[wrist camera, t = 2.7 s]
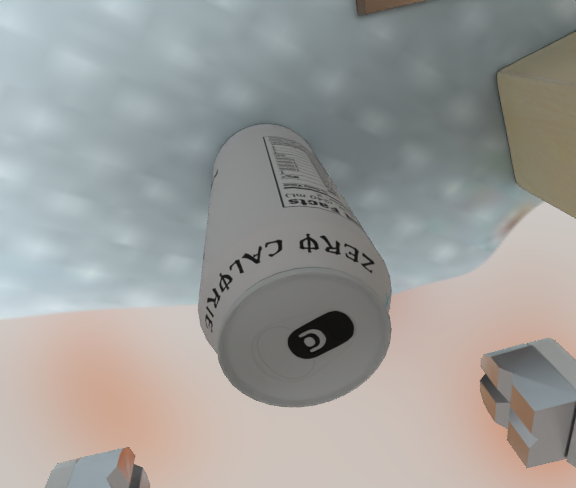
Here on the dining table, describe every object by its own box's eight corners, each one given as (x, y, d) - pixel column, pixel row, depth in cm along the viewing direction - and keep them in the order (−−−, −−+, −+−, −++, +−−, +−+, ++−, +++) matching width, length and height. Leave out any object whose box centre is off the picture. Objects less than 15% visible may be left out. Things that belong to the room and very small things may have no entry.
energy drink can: (192, 156, 23) (144, 326, 10) (283, 98, 22) (357, 205, 9) (249, 234, 26) (269, 448, 13) (332, 186, 25) (442, 362, 12)
